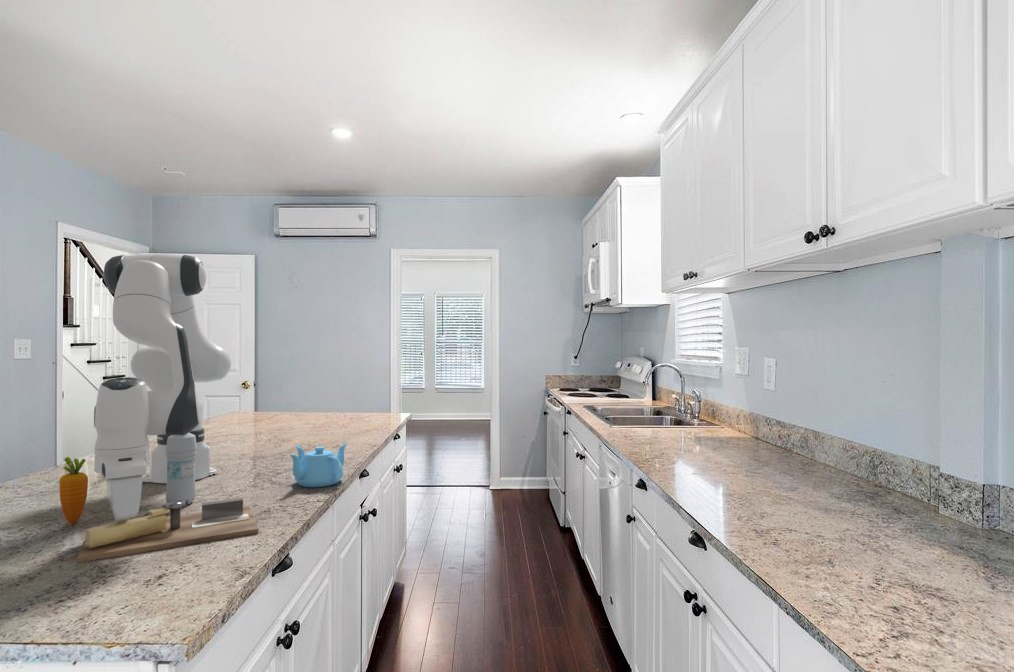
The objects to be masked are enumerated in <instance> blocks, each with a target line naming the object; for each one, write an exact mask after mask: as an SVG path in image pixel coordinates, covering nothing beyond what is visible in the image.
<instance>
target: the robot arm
mask: <svg viewBox="0 0 1014 672" xmlns="http://www.w3.org/2000/svg"><path fill="white" fill-rule="evenodd" d="M103 281H104V283H105V286H106V289H107V290H108V291H109V292H110V293H112V295H114V296H113V302H112V303H113V304H112V323H113V326H114V327H115V329H116V331H118V333H120V334H121V335H122V336H123V337H125V338H126V339H128V340H130V341H132V342H134V343H136V344H139V345H143V346H146V347H141V348H139V349H138V350H136V351H135V352H134V354H133V356H132V357H131V360H130V369H131V372H132V374H133V376H134V377H129V376H128V377H127V376H126V377H116V378H110V379H107V380H105V381H103V382H101V383H100V385H99V388H98V392H97V396H96V397H97V398H96V404H95V406H94V410H93V411H94V412H93V427H94V429H95V430H96V436H97V437H96V440H95V443H94V458H93V459H94V462H93V463H94V469H93V471H94V472H95V473H97V474H100V475H101V479H102V480H104V481H106V496H107V498H108V501H109V505H110V507H111V511H112V514H113V517H114V521H115V522H114V523H117V522H122V521H127V520H129V518H135V517H137V516H138V514H139V512H140V507H141V497H142V490H143V483H153V484H154V483H155V484H167V457H166V445H167V439H168V437H169V436H171V435H185V434H187V433H191V434H193V435H195V437H196V444H197V450H196V452H197V453H196V455H195V481H197V480H201V479H204V478H206V477H209V475H210V476H214V475H213V474H215V475H217V474H218V470H217V469H215V468H214V467H212V466H211V448H210V446H209V445H208V444H207V443H205V441H204V440H205V438H206V437H205V436H206V432H205V428H204V405H203V402H202V401H201V399H200V398H199V396H198V393H197V390H196V385H195V383H210V382H215V381H220V380H224V379H225V378H226V377H227V375H228V374H229V372H230V370H231V366H232V360H231V357H230V355H229V352H227V350H226V349H224V348H223V347H222V346H219V345H218V344H216V343H215V342H213V341H212V340H211V339H210V338H208V337H207V336H206V334H205V333H204V331H203V330H202V328H201V326H200V324H199V319H198V315H197V312H196V311H197V310H196V305H195V300H194V296H195V295H198V294H200V293H201V292H202V291H203V290H204V288H205V285H206V283H207V272H206V268H205V266H204V264H203V262H202V260H200V259H199V258H198V257H197V256H192V255H189V254H187V255H186V254H183V255H178V254H177V255H176V254H168V253H167V254H165V253H154V254H132V255H127V254H122V255H121V254H120V255H116V256H112V257H111V258H110V259H108V260H107V261H106V262H105V264H104V267H103ZM147 387H148V389H149V390H147ZM148 436H156V443H157V446H156V447H155V448H154V449H153V450H152V451H151V452H150V453H149V449H150V447H149V446H150V445H149V444H150V441H149V437H148ZM149 454H150V455H149ZM149 456H150V457H149ZM149 459H150V460H149ZM149 461H150V465H149ZM148 466H149V472H148V473H147V468H148ZM143 475H144V476H143Z"/></svg>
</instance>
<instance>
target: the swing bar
mask: <svg viewBox="0 0 1014 672" xmlns="http://www.w3.org/2000/svg"><path fill="white" fill-rule="evenodd" d="M186 505H187V504H186V501H184V500H177V501H171V502H168V503H167V502H166V503H165V507H161V508H156V509H151V510H148V515H146V516H141V517H136V518H132V519H128V520H127V521H122V522H117V523H115V522H114V523H109V524H108V523H107V524H104V525H100V526H94V527H95V528H93V527H91V528H86V529H85V541H86V546H87V547H88V548H93V547H97V546H101V545H105V544H109V543H113V542H118V541H122V540H126V539H130V538H134V537H138V536H142V535H146V534H151V533H155V532H159V531H163V530H166V517H167V515H166V514H168V513H170V510H178V509H180V510H182V509H184V508H186Z"/></svg>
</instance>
